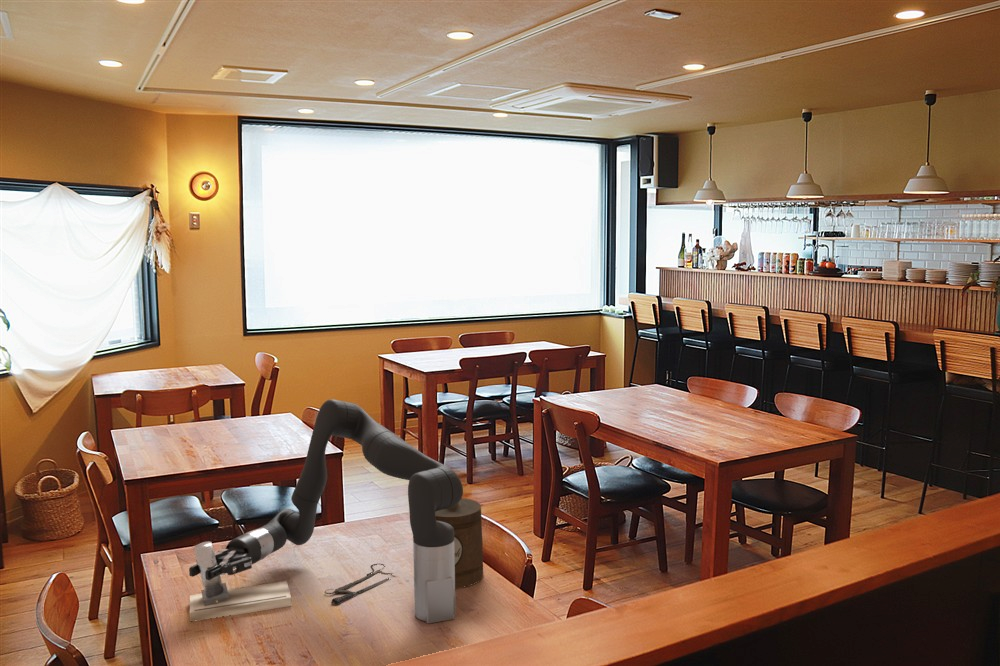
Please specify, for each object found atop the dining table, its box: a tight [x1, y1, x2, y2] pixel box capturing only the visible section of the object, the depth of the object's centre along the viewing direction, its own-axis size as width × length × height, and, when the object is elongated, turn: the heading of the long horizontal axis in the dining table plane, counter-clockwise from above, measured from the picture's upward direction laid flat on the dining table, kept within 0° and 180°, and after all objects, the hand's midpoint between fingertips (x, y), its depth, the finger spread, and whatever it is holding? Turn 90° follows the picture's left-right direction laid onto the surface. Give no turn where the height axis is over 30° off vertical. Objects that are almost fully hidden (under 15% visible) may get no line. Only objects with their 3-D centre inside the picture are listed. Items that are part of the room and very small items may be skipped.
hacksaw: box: [324, 563, 393, 606], centre depth 204 cm, size 24×10×2 cm, turn 143°
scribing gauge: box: [193, 541, 229, 606], centre depth 190 cm, size 7×6×13 cm
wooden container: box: [435, 497, 484, 589], centre depth 207 cm, size 15×15×22 cm
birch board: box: [189, 580, 292, 622], centre depth 193 cm, size 10×22×2 cm, turn 110°
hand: (198, 574), depth 187 cm, fingers closed on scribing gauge, 4 cm apart
